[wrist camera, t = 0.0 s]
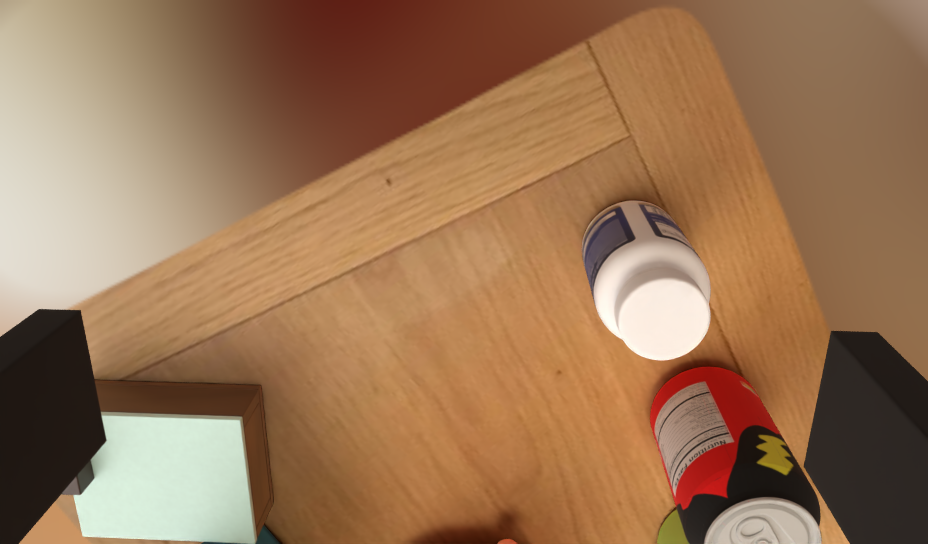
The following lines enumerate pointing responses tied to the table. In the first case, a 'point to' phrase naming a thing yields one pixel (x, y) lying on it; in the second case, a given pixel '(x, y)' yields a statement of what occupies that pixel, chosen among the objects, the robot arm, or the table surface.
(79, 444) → the robot arm
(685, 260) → the pill bottle
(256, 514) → the case
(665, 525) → the tumbler
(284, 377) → the table surface
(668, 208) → the table surface
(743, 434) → the beverage can
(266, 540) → the handheld gaming console
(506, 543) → the sugar bowl
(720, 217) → the table surface
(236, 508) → the pale green cover
